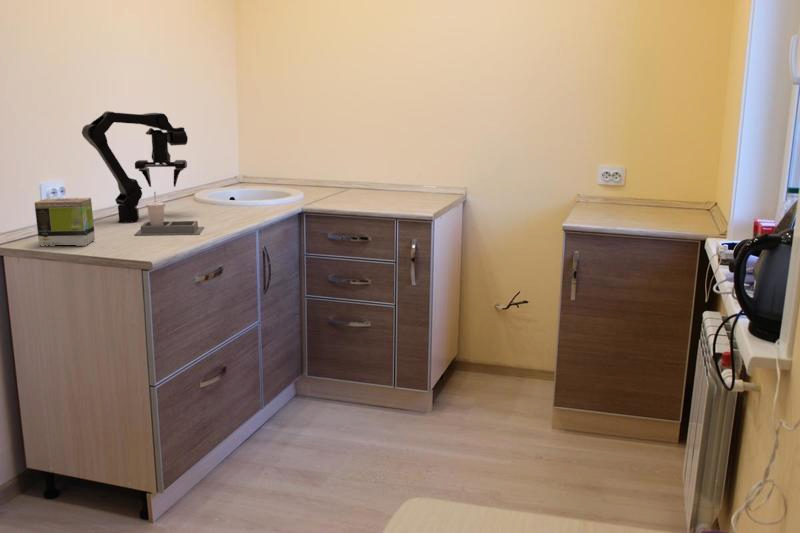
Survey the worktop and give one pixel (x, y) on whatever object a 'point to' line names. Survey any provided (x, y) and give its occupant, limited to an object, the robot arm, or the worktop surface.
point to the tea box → (65, 221)
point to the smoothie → (156, 212)
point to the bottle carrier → (170, 228)
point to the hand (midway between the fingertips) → (162, 186)
